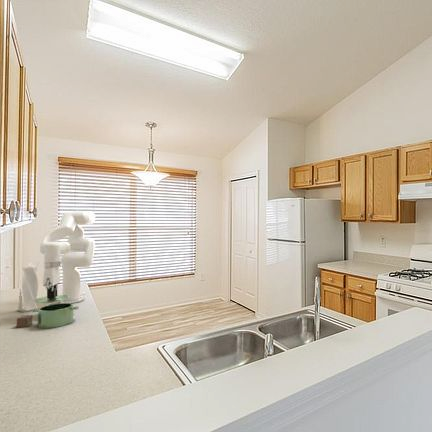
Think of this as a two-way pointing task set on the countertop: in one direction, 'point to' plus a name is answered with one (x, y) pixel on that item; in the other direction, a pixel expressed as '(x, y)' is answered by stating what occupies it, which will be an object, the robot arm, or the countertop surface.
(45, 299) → the pot lid
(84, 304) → the countertop surface
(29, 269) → the skyscraper
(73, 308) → the pot
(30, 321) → the block
